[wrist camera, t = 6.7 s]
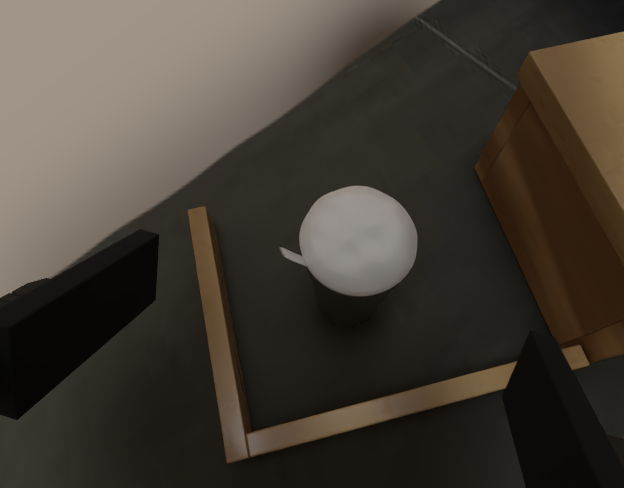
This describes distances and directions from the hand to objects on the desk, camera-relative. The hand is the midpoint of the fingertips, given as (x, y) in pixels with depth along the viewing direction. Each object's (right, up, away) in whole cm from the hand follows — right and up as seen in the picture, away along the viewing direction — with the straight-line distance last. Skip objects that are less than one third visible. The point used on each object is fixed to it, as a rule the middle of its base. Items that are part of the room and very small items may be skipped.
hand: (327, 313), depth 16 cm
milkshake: (+1, -1, +9) cm, 9 cm away
